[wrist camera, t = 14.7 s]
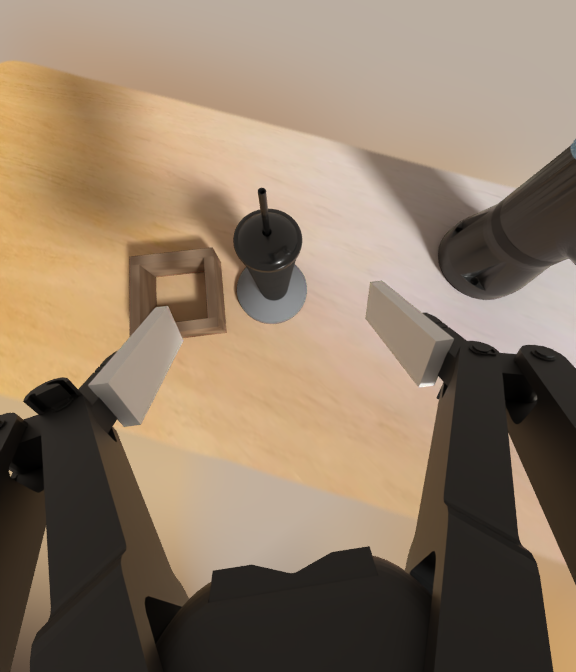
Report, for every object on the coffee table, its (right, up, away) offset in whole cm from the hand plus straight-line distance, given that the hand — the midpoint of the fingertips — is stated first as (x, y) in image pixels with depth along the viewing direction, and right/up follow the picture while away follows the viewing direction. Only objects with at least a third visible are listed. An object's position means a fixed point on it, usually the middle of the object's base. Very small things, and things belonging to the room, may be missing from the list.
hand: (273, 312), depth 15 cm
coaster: (-2, +6, +24) cm, 25 cm away
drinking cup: (-1, +7, +23) cm, 24 cm away
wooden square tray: (-17, +5, +23) cm, 29 cm away
